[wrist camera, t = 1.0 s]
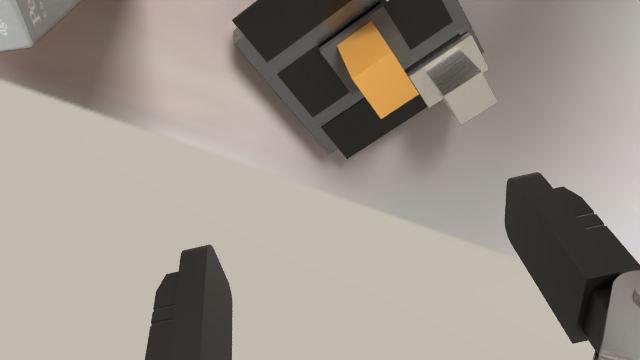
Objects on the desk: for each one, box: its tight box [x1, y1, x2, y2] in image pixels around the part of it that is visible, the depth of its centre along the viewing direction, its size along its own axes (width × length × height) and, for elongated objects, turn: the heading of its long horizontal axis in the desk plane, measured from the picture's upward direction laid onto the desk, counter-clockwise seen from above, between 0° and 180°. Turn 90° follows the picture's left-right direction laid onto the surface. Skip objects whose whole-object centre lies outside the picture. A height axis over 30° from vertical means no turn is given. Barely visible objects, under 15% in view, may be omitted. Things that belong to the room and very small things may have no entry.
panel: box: [232, 0, 497, 159], centre depth 30 cm, size 12×12×6 cm
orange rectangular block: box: [319, 3, 419, 119], centre depth 29 cm, size 4×4×5 cm
